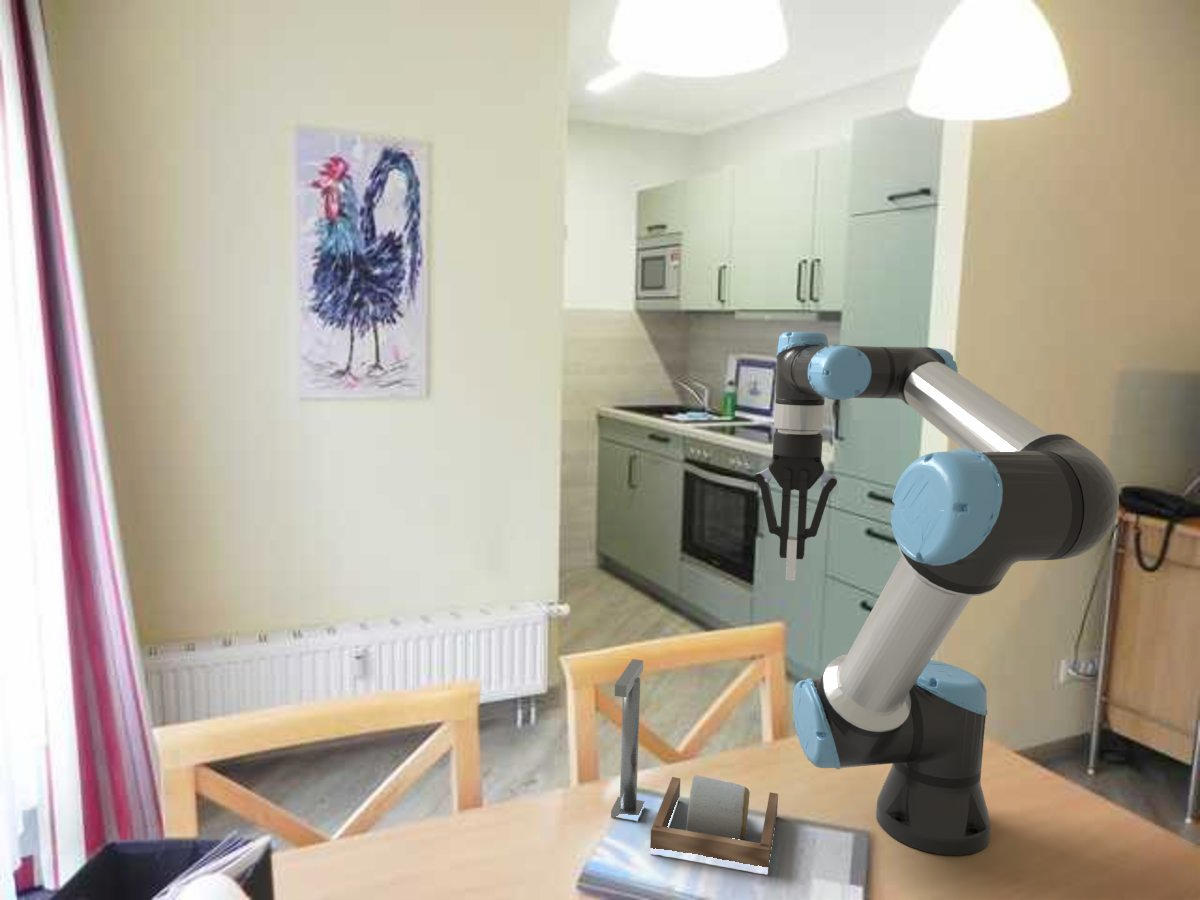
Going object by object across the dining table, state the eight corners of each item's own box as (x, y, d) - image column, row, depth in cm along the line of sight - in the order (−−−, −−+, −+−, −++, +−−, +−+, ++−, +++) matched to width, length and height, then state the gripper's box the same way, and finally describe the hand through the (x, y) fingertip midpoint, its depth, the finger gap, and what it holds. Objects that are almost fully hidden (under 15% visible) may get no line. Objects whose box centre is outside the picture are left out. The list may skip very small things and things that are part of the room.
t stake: (646, 802, 129) (651, 661, 127) (630, 839, 120) (635, 687, 117) (620, 798, 130) (624, 658, 128) (602, 834, 121) (606, 683, 118)
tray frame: (776, 816, 126) (778, 793, 126) (767, 875, 112) (769, 850, 112) (671, 799, 130) (672, 776, 130) (650, 854, 116) (650, 829, 116)
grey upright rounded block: (746, 852, 117) (749, 798, 116) (685, 844, 119) (687, 790, 118) (748, 813, 128) (751, 762, 127) (692, 805, 129) (694, 755, 128)
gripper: (841, 431, 139) (833, 576, 142) (758, 427, 143) (751, 568, 146) (841, 435, 132) (832, 588, 135) (753, 431, 136) (746, 580, 138)
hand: (790, 578), depth 140 cm, fingers closed
